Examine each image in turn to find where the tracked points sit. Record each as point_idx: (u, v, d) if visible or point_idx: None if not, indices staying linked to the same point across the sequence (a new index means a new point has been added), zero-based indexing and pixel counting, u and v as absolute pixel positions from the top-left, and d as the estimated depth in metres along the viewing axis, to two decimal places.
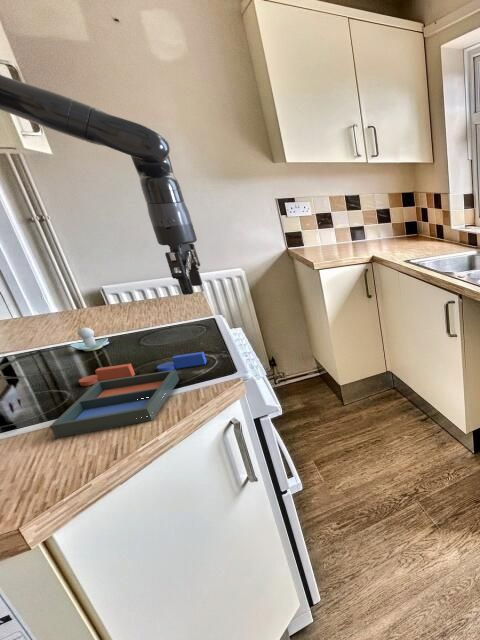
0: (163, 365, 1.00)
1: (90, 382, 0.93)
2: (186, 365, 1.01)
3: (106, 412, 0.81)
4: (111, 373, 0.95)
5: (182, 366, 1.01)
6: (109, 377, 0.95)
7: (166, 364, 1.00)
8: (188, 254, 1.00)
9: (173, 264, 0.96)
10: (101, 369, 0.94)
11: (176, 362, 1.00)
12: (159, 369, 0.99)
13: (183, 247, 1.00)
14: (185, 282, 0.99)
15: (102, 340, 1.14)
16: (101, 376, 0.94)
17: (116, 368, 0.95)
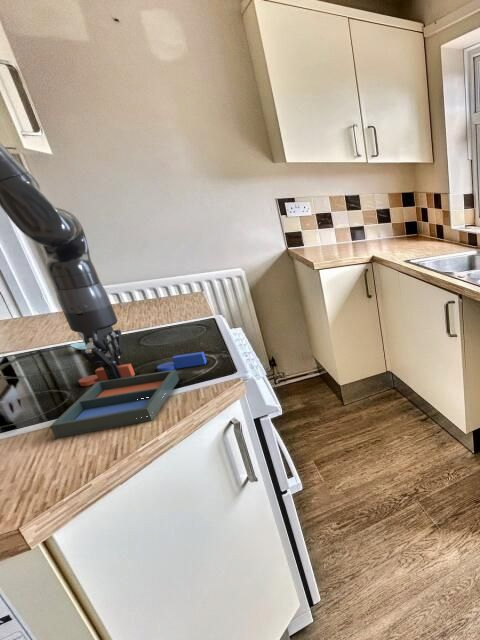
0: (163, 365, 1.00)
1: (90, 382, 0.93)
2: (186, 365, 1.01)
3: (106, 412, 0.81)
4: None
5: (182, 366, 1.01)
6: None
7: (166, 364, 1.00)
8: (106, 339, 0.91)
9: (93, 359, 0.89)
10: (101, 369, 0.94)
11: (176, 362, 1.00)
12: (159, 369, 0.99)
13: (100, 331, 0.91)
14: (111, 369, 0.94)
15: None
16: (101, 376, 0.94)
17: None
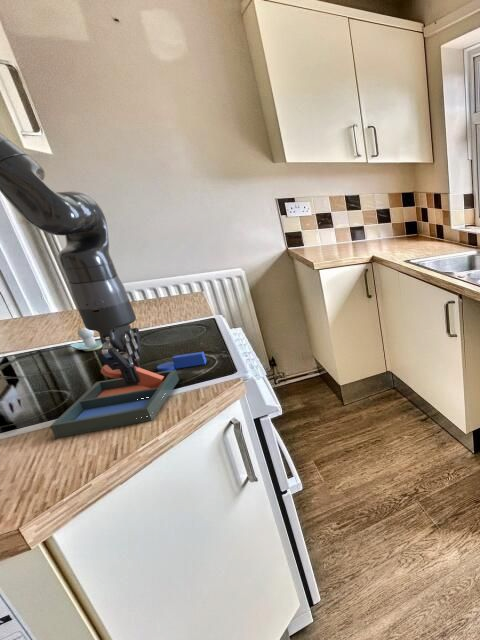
0: (163, 365, 1.00)
1: (114, 376, 0.85)
2: (186, 365, 1.01)
3: (106, 412, 0.81)
4: (140, 377, 0.87)
5: (182, 366, 1.01)
6: None
7: (166, 364, 1.00)
8: (124, 338, 0.83)
9: (110, 360, 0.81)
10: None
11: (176, 362, 1.00)
12: (159, 369, 0.99)
13: (118, 330, 0.82)
14: (128, 371, 0.85)
15: None
16: None
17: (149, 375, 0.88)
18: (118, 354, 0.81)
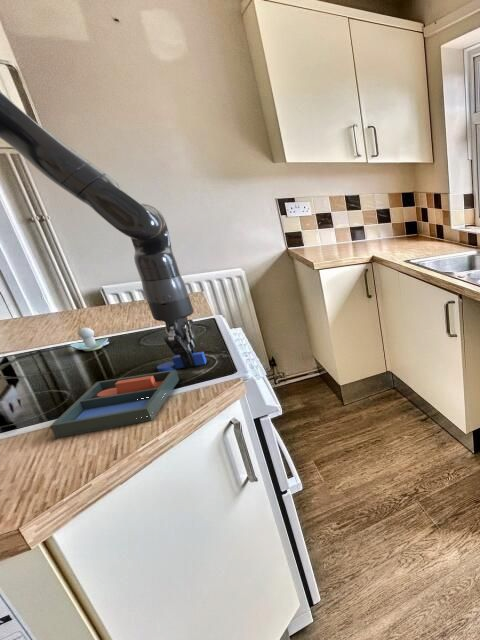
0: (163, 365, 1.00)
1: None
2: None
3: (106, 412, 0.81)
4: (132, 386, 0.87)
5: (182, 366, 1.01)
6: (130, 390, 0.87)
7: (166, 364, 1.00)
8: (184, 328, 0.97)
9: (174, 346, 0.95)
10: (121, 382, 0.87)
11: (176, 362, 1.00)
12: (159, 369, 0.98)
13: (179, 321, 0.97)
14: (187, 356, 0.99)
15: (102, 340, 1.14)
16: (121, 389, 0.87)
17: (137, 380, 0.87)
18: (181, 341, 0.95)
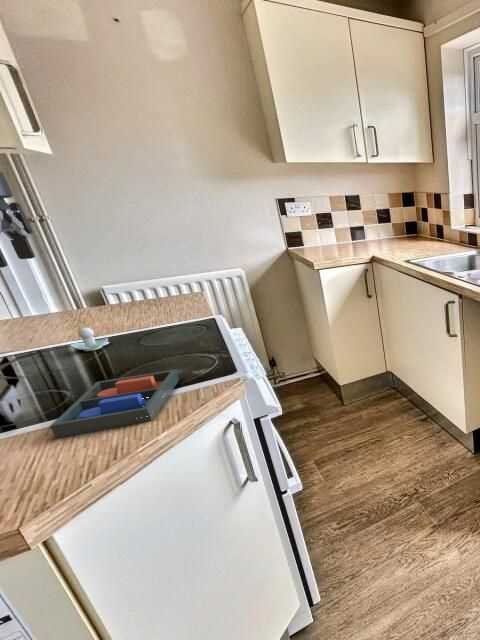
0: (87, 413, 0.79)
1: None
2: (117, 411, 0.80)
3: None
4: (132, 386, 0.87)
5: None
6: (130, 390, 0.87)
7: (92, 410, 0.80)
8: None
9: None
10: (121, 382, 0.87)
11: (104, 408, 0.79)
12: (81, 418, 0.78)
13: None
14: None
15: (102, 340, 1.14)
16: (121, 389, 0.87)
17: (137, 380, 0.87)
18: None
